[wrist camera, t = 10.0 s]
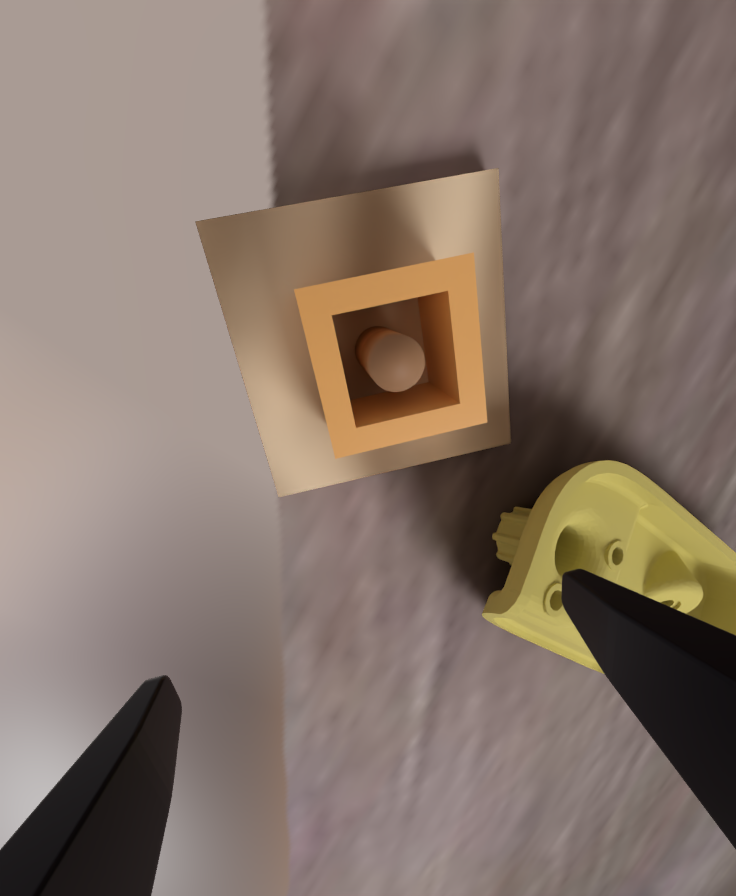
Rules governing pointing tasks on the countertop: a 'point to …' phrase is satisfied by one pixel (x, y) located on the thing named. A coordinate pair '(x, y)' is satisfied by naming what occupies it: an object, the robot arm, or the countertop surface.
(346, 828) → the countertop surface
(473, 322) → the orange nut
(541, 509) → the plastic component
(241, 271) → the beige peg base
